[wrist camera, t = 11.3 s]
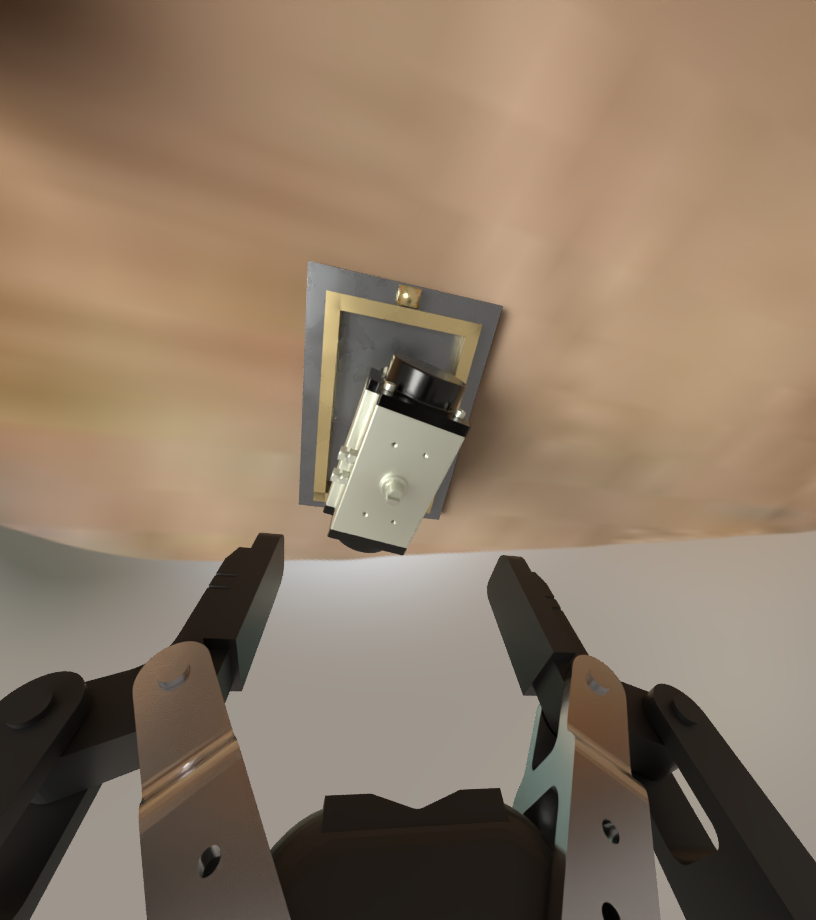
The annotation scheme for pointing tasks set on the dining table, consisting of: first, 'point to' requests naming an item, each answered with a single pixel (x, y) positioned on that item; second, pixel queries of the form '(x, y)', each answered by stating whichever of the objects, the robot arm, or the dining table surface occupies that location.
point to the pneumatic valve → (395, 455)
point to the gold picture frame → (378, 357)
